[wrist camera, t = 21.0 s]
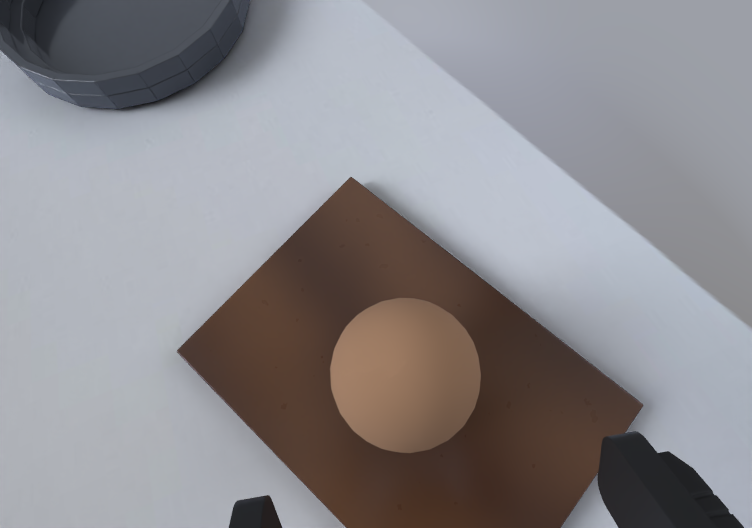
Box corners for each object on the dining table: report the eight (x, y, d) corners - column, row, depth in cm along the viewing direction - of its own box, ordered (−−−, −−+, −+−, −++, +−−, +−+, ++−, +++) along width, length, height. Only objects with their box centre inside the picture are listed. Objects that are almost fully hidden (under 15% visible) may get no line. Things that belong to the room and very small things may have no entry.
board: (352, 185, 28) (350, 176, 27) (632, 405, 24) (644, 404, 22) (185, 354, 25) (175, 351, 24) (467, 645, 21) (472, 659, 19)
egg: (460, 456, 22) (497, 478, 14) (330, 436, 22) (298, 447, 15) (469, 326, 24) (506, 283, 16) (351, 311, 24) (331, 262, 17)
